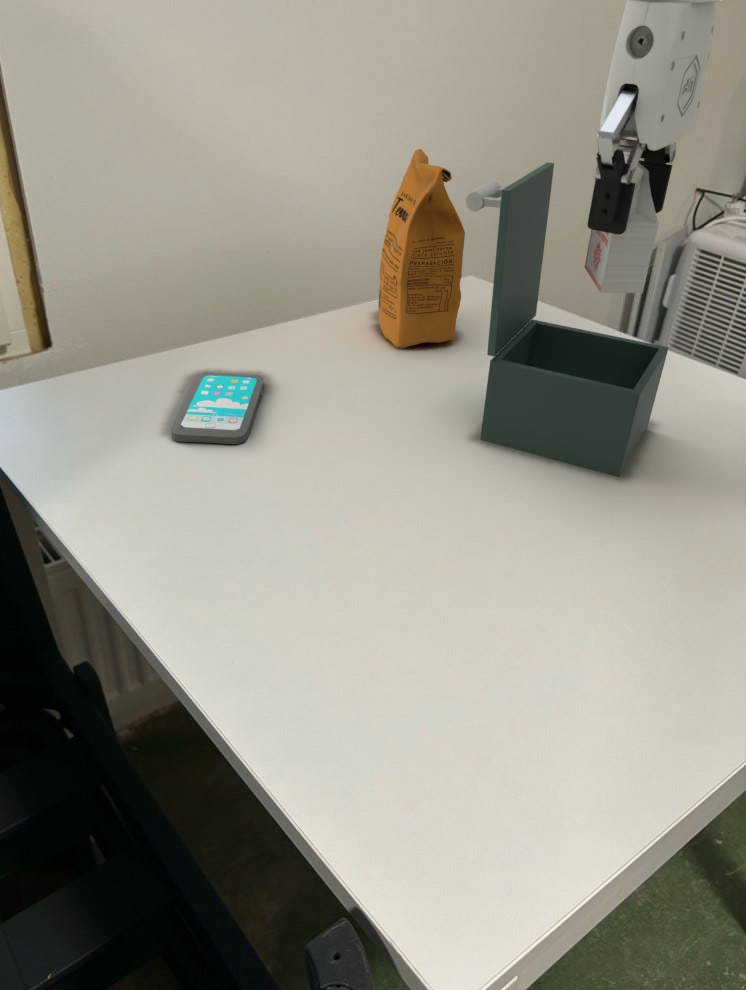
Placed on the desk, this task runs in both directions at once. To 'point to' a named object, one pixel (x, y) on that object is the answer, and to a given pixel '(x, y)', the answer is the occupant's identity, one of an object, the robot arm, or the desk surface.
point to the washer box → (572, 395)
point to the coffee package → (421, 259)
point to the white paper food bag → (625, 244)
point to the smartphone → (218, 408)
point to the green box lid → (516, 250)
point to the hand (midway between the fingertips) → (625, 219)
